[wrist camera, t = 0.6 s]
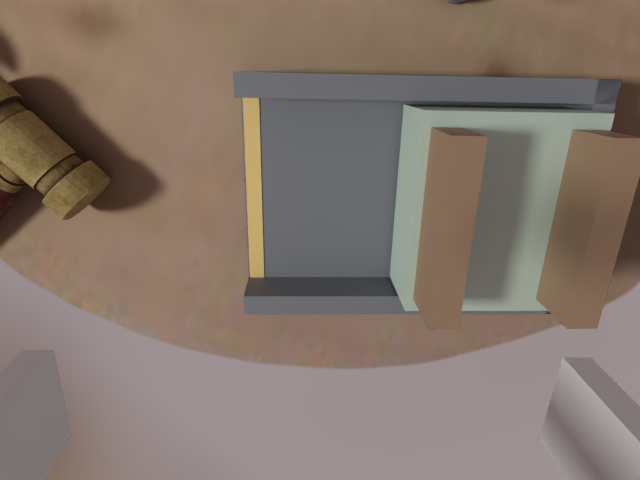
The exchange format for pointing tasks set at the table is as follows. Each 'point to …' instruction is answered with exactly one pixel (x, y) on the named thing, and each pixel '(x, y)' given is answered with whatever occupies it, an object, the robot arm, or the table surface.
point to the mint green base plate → (510, 210)
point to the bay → (349, 177)
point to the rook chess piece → (453, 1)
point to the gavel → (42, 161)
